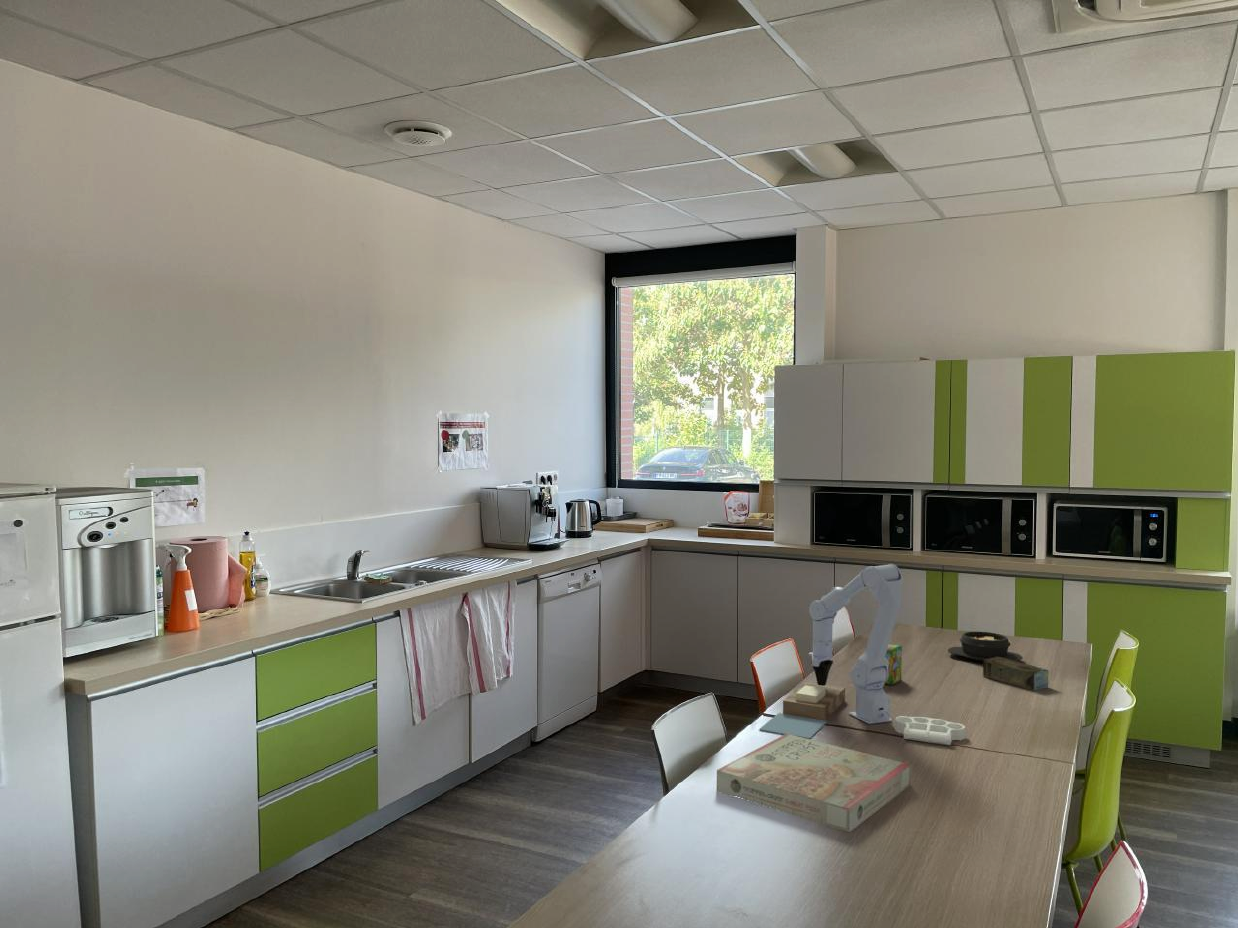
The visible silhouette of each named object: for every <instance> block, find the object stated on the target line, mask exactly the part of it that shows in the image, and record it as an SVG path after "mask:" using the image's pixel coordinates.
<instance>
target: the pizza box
mask: <svg viewBox="0 0 1238 928" xmlns="http://www.w3.org/2000/svg"><path fill="white" fill-rule="evenodd" d="M910 785H911V764H909V763H905V762H901V761H897V760H895V759H890V758H885V757H883V756H882V757H881V756H878V755H873V754H870V753H867V752H866V753H865V752H861V751H857V750H854V749H849V748H844V747H841V746H838V745H833V744H829V743H825V742H821V741H817V740H813V739H806V738H802V737H798V736H794V735H790V734H785V735H782V736H779V737H777V738H775V739H774V740H772V741H770V742H767V743H766V744H764V745H762V746H760V747H758V748H756V749H754V750H753V751H750V752H749V753H747V754H745V755H743V756H741V757H739V758H738V759H737V758H736V759H735V760H733V761H731V762H729V763H728V764H726V765H724V766H721V767H720V768H718V769H716V792H717V791H718V792H717V793H720V792H721V794H724V795H727V794H728V795H727V796H730V795H732V796H731V797H733V796H737V797H740V798H743V799H745V800H744V801H746V800H749V801H752V802H751V803H753V802H755V803H754V804H756V803H758V804H757V805H759V804H761V805H760V806H762V805H764V806H763V807H766V806H767V807H766V808H769V807H771V808H770V809H772V808H773V809H772V810H775V809H777V810H776V811H778V810H780V811H779V812H782V811H783V813H785V812H786V813H785V814H788V815H792V816H795V817H799V818H801V819H805V820H808V821H812V822H814V823H818V824H821V825H824V826H828V827H830V828H834V829H836V830H840V831H843V832H847V833H851V832H852V831H853V830H854V829H856V828H857V827H858V826H859V825H861V824H862V823H863V822H865V821H866V820H867V819H869V818H870V817H871V816H872V815H873V814H875V813H876V812H877V811H878V810H880V809H881V808H882V807H884V806H885V805H887V804H888V803H889V802H890V801H891V800H892V799H894V798H895V797H897V796H898V795H899V794H901V793H902V792H903V791H904V790H906V789H907V788H908V787H910ZM740 798H739V799H740ZM743 799H742V800H743ZM749 801H748V802H749ZM887 802H888V803H887Z"/></svg>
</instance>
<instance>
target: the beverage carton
mask: <svg viewBox="0 0 1238 928" xmlns="http://www.w3.org/2000/svg"><path fill="white" fill-rule="evenodd" d="M1049 671H1050V670H1048V669H1046V668H1042V667H1037V666H1036V665H1035V666H1034V665H1031V664H1027V663H1025V662H1019V661H1013V660H1009V659H1006V658H1002V657H998V656H997V657H993V658H989V659H984V660H983V662H982V676H983V677H984V678H987V679H990V678H991V679H990V680H993V681H997V680H998V682H1002V683H1004V682H1005V684H1008V685H1011V684H1012V686H1015V685H1016V687H1018V686H1020V687H1019V688H1022V687H1024V688H1023V689H1026V688H1027V690H1030V689H1032V690H1031V691H1033V690H1036V691H1039V690H1044V689H1048V688H1049V683H1050V682H1049ZM1047 687H1048V688H1047ZM1043 688H1044V689H1043ZM1038 689H1039V690H1038Z"/></svg>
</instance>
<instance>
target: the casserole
mask: <svg viewBox="0 0 1238 928" xmlns="http://www.w3.org/2000/svg"><path fill="white" fill-rule="evenodd" d="M959 641H960V643H961V646H952V647H950V648H948V649H947V652H948V653H949V654H951V655H955V656H959V657H963V658H967V659H969V660H971V661H974V662H979V663H983V660H984V659H989V658H993V657H997V656H998V657H1002V658H1006V659H1009V660H1013V661H1017V662H1019V661H1021V660H1023V659H1024V658H1023V656H1022V655H1021V654H1019V653H1016V652H1012V651H1009V647H1010V646H1011V643H1010V642H1009V638H1008V637H1007V636H1005V635H1003V634H999V633H995V632H989V631H967V632H964V633H963V634H962V636H961V638H959Z"/></svg>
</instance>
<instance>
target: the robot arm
mask: <svg viewBox="0 0 1238 928" xmlns="http://www.w3.org/2000/svg"><path fill="white" fill-rule="evenodd" d="M903 581H904V576H903V574H902V572H901V570H900V569H899V567H898V566H897V565H896V564H893V563H888V564H883V565H875V566H873V565H871V566H867V567H865V568H864V569H863V570H860V572H859V573H858V574H857V575H856V576H855V577H854V578H853V579H852V580H850V581H849V582H848V583H847V584H846V585H845V586H843V587H842V586H833V587H832V588H831V589H830V590H831V591H829V593H827V594H826V595H822V596H821V599H820V600H813V601H811V603H810V604H809V608H808V612H809V615H810V617H811V618H812V651H811V652H809V653H808V656H809V657H811V661H810V664H811V667H812V669H813V672H814V674H815V678H816V684H818V685H822V686H825V685H827V680H828V676H829V673H830V670H831V667H832V665H833V664H834V661H833V657H834V656H833V626H834V625H833V624H834V622H835V618H836V616H837V614H838V612H839V611H840V610H842V609H844V608H845V607H846V606H847V605H849V604H850V602H851V600H852V599H851V597H853V596H854V595H856V594H858V593H860V592H861V591H863V590H864V589H865V588H867V589H868V590H869V591H870V593H871V594H872V595H873V596H874V598H875V599H876V600H878V602H879V604H878V608H877V611H876V613H875V618H874V621H873V624H872V628H871V631H870V635H869V637H868V640H867V643H866V646H867V647H866V646H865V651H864V652H863V653H862V654H861V655H860V656H859V657H858V658H857V660H856V662H855V664H854V665H853V666H852V667H851V669H850V678H851V681H852V682H853V684H854V687H855V688H856V689H855V711H850V712H849V715H850V716H852V717H854V718H856V719H858V720H860V721H862V722H864V723H867V724H868V725H873V724H879V723H887V722H892V721H893V719H892V718H891V716H890V714H891V713H890V711H891V710H890V709H891V699H890V696H889V694H888V693H887V692H885V690H884V688H883V687H884V686H885V684H884V682H885V681H886V680H887V679H888V675H889V673H888V666H889V661H888V660H887V659H886V658H885V655H886V652H887V648H888V645H889V643H890V642H891V638H892V635H893V632H894V628H895V625H896V622H897V619H898V616H899V612H900V609H901V605H902V602H903V601H902V600H903V599H902V597H903V596H902V584H903ZM831 659H832V660H831Z"/></svg>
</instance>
